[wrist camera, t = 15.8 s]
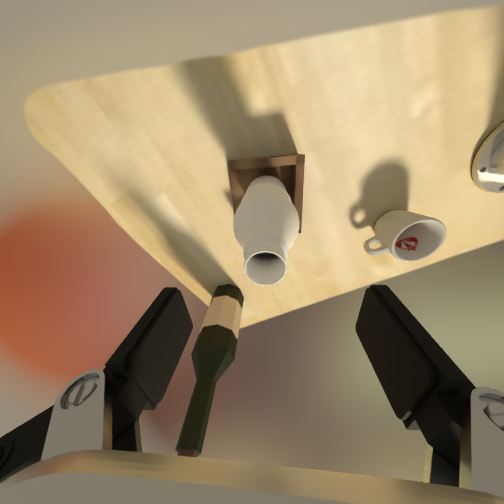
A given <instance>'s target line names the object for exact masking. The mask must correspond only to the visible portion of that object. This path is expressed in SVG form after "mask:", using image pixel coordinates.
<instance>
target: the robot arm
mask: <svg viewBox="0 0 504 504" xmlns="http://www.w3.org/2000/svg"><path fill="white" fill-rule="evenodd" d="M472 177H473V181H474V182H475V184H476V185H477V186H478V187H479V188H480V189H483V190H485V191H489V192H494V193H504V122H503V123H501V124H500V125H499V126H498V127H497V128H496V129H495V130H494V131H493V132H492V133H491V134H490V135H489V136H488V137H487V139H486V140H485V141H484V142H483V144H482V145H481V147H480V149H479V150H478V152H477V154H476V156H475V159H474V162H473V166H472ZM192 328H193V324H192V321H191V318H190V315H189V313H188V310H187V307H186V305H185V302H184V299H183V296H182V293H181V291H180V290H178V289H177V288H175V287H173V288H172V287H169V288H168V287H166V288H164V289H163V290H162V291H161V292H160V294H159V295H158V296H157V298H156V299H155V300H154V302H153V303H152V304H151V306H150V307H149V308H148V309H147V311H146V312H145V313H144V315H143V316H142V317H141V319H140V320H139V321H138V322H137V324H136V325H135V326H134V328H133V329H132V330H131V331H130V333H129V334H128V335H127V337H126V338H125V339H124V341H123V342H122V343H121V344H120V346H119V347H118V348H117V350H116V351H115V352H114V354H113V355H112V356H111V358H110V359H109V360H108V361H107V363H106V364H105V366H106V367H105V368H104V370H103V371H102V370H100V369H93V370H89V371H87V372H84V373H82V374H81V375H79V376H78V377H76V378H75V379H74V380H72V381H71V382H70V383H69V384H68V385H67V386H66V387H65V388H64V389H63V390H62V391H61V393H60V394H59V396H58V397H57V399H56V402H55V404H54V405H53V406H51V407H50V408H48V409H47V410H45V411H44V412H42V413H40V414H38V415H37V416H35V417H34V418H32V419H30V420H29V421H27V422H25V423H24V424H22V425H20V426H19V427H17V428H15V429H14V430H12V431H11V432H9V433H7V434H6V435H4V436H2V437H1V438H0V504H504V393H502V392H500V391H498V390H495V389H491V388H487V387H477V388H476V387H475V386H474V385H473V384H472V383H471V381H470V380H469V379H468V378H467V377H466V376H465V375H464V373H463V372H462V371H461V370H460V369H459V368H458V366H457V365H456V364H455V363H454V362H453V361H452V360H451V358H450V357H449V356H448V355H447V354H446V353H445V352H444V350H443V349H442V348H441V347H440V346H439V345H438V343H437V342H436V341H435V340H434V339H433V338H432V337H431V335H430V334H429V333H428V332H427V331H426V330H425V329H424V328H423V326H422V325H421V324H420V323H419V322H418V321H417V319H416V318H415V317H414V316H413V315H412V314H411V313H410V311H409V310H408V309H407V308H406V307H405V306H404V304H402V302H401V301H400V300H399V299H398V297H397V296H396V295H395V294H394V293H393V292H392V291H391V290H390V288H389V287H388V286H386V285H371V286H370V287H369V288H367V289H366V291H365V295H364V298H363V302H362V305H361V309H360V312H359V316H358V320H357V323H356V332H357V335H358V337H359V339H360V341H361V343H362V345H363V348H364V350H365V352H366V354H367V355H368V358H369V360H370V362H371V364H372V366H373V368H374V371H375V373H376V375H377V377H378V379H379V381H380V383H381V385H382V387H383V390H384V391H385V393H386V396H387V398H388V400H389V402H390V404H391V406H392V408H393V410H394V412H395V414H396V416H397V417H398V418H399V419H401V420H402V421H403V423H404V425H405V427H406V429H409V430H421V432H422V433H423V435H424V437H425V439H426V441H427V443H428V446H427V454H426V461H425V462H426V463H425V469H424V477H423V482H417V481H409V480H401V479H394V478H385V477H376V476H366V475H358V474H348V473H339V472H330V471H321V470H311V469H303V468H292V467H283V466H274V465H264V464H255V463H245V462H236V461H225V460H216V459H206V458H196V457H186V456H176V455H166V454H156V453H145V452H142V443H141V434H140V424H139V416H140V414H141V412H142V410H155V408H156V405H157V403H159V402H160V401H161V400H162V398H163V396H164V394H165V392H166V390H167V387H168V385H169V383H170V380H171V378H172V376H173V373H174V371H175V369H176V366H177V364H178V362H179V359H180V357H181V355H182V352H183V350H184V348H185V345H186V343H187V341H188V339H189V336H190V334H191V331H192Z"/></svg>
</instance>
